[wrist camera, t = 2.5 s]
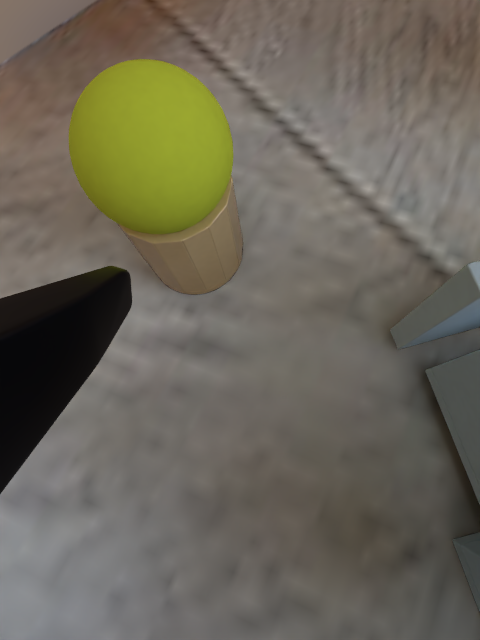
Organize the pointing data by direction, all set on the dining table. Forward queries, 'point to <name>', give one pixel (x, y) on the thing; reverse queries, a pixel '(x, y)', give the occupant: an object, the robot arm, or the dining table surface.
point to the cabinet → (470, 561)
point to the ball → (151, 146)
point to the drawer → (458, 374)
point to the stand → (196, 249)
